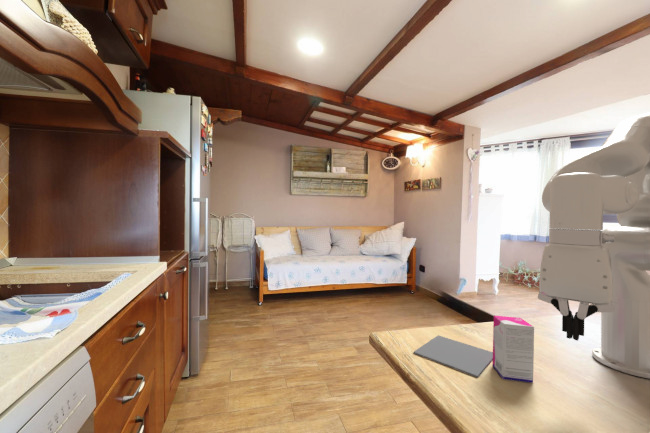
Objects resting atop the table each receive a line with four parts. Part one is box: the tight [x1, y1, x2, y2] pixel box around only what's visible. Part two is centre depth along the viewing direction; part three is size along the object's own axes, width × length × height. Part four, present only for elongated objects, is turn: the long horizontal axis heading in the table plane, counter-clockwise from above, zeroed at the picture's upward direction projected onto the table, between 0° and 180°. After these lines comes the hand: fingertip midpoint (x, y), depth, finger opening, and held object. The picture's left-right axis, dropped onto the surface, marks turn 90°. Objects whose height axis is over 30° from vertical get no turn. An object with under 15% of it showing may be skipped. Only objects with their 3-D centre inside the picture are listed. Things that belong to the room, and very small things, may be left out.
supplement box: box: [492, 315, 535, 384], centre depth 60 cm, size 6×6×12 cm
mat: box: [413, 334, 493, 378], centre depth 68 cm, size 14×14×1 cm
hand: (572, 337), depth 52 cm, fingers closed
